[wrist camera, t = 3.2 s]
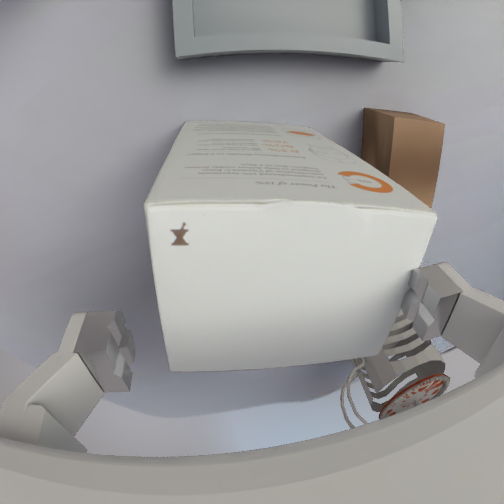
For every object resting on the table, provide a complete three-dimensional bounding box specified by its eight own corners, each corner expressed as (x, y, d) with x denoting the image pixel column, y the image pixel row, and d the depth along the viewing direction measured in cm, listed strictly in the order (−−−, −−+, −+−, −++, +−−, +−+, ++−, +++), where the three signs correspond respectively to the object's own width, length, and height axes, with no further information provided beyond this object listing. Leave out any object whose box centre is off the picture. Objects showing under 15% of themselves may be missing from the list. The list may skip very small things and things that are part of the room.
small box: (183, 213, 21) (164, 376, 10) (183, 119, 17) (135, 198, 6) (299, 214, 22) (380, 359, 11) (312, 126, 18) (444, 210, 7)
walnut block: (363, 107, 18) (394, 117, 15) (410, 112, 18) (444, 124, 15) (357, 189, 21) (383, 212, 18) (401, 188, 22) (430, 210, 18)
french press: (395, 352, 33) (476, 529, 12) (306, 363, 31) (371, 585, 10) (429, 287, 28) (553, 489, 7) (330, 292, 26) (447, 580, 5)
